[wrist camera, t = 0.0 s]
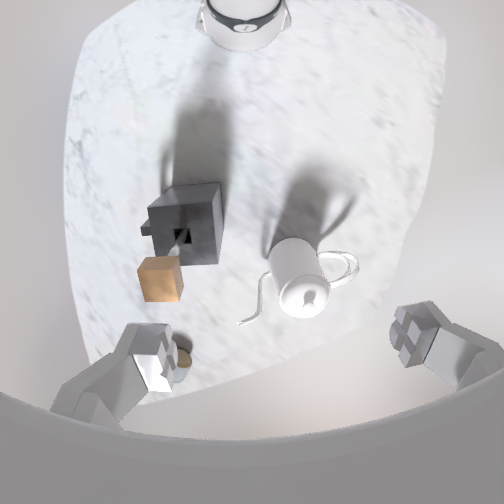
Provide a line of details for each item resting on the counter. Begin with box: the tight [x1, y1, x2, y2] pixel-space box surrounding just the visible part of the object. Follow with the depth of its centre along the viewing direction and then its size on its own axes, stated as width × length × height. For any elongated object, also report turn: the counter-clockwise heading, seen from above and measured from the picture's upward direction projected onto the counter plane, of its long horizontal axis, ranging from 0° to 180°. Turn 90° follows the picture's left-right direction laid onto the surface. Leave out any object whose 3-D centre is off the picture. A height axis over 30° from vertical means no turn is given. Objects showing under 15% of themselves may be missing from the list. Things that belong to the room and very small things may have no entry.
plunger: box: [137, 228, 192, 302], centre depth 37 cm, size 7×7×19 cm
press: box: [140, 182, 224, 266], centre depth 49 cm, size 10×13×16 cm
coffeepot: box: [237, 238, 359, 325], centre depth 53 cm, size 11×25×19 cm, turn 111°
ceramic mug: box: [172, 349, 192, 383], centre depth 70 cm, size 11×8×8 cm
